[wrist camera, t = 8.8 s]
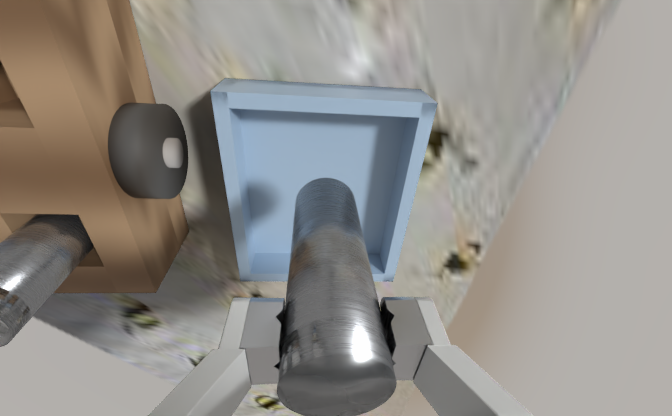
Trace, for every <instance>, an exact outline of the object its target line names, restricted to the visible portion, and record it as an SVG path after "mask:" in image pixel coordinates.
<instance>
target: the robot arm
mask: <svg viewBox="0 0 672 416" xmlns="http://www.w3.org/2000/svg"><path fill="white" fill-rule="evenodd" d="M380 307H381V315H382V320H383V324H384V328H385V333H386V337H387V342H388V346H389V350H390V355H391V359H392V363H393V368H394V372H395V376H396V380H414V381H413V382H414V384H415V385H416V386H417V388H418V389H419V390H420V392H421V393H422V394H423V395H424V397H425V398H426V399H427V401H428V402H429V403H430V405H431V406H432V407H433V408H434V410H435V411H436V412H437V414H438V415H439V416H533V415H532V413H530V412H529V411H528V410H527V409H526V408H525V407H524V406H523V405H522V404H520V403H519V402H518V401H517V400H516V399H515V398H514V397H513V396H512V395H511V394H509V393H508V392H507V391H506V390H505V389H504V388H503V387H502V386H501V385H500V384H498V383H497V382H496V381H495V380H494V379H493V378H492V377H491V376H490V375H488V374H487V373H486V372H485V371H484V370H483V369H482V368H481V367H480V366H478V365H477V364H476V363H475V362H474V361H473V360H472V359H471V358H470V357H469V356H467V355H466V354H465V353H464V352H463V351H462V350H461V349H460V348H459V347H457V346H456V345H451V344H450V341H449V339H448V336H447V334H446V332H445V329H444V327H443V324H442V322H441V319H440V317H439V314H438V312H437V309H436V307H435V305H434V302H433V300H432V299H431V298H430V297H383V298H382V299H381V303H380ZM284 312H285V299H284V298H234V299H233V300H232V302H231V305H230V308H229V312H228V316H227V319H226V323H225V326H224V330H223V333H222V337H221V341H220V344H219V348H218V349H213V350H212V351H211V352H210V353H209V354H208V355H207V356H206V357H205V358H204V359H203V360H202V361H201V362H200V363H199V364H198V365H197V366H196V367H195V368H194V369H193V370H192V371H191V372H190V373H189V374H188V375H187V376H186V377H185V378H184V379H183V380H182V381H181V382H180V383H179V384H178V385H177V386H176V387H175V388H174V389H173V391H172V392H171V393H170V394H169V395H168V396H167V397H166V398H165V399H164V400H163V401H162V402H161V403H160V404H159V405H158V406H157V407H156V408H155V409H154V410H153V411H152V412H151V413H150V414H149V415H148V416H232V414H233V413H234V412H235V410H236V409H237V407H238V406H239V404H240V403H241V401H242V400H243V398H244V397H245V395H246V394H247V392H248V391H249V390H250V388H251V385H257V384H275V383H278V374H279V364H280V354H281V344H282V334H283V324H284Z"/></svg>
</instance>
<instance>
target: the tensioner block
mask: <svg viewBox="0 0 672 416" xmlns="http://www.w3.org/2000/svg"><path fill="white" fill-rule="evenodd" d="M187 169H188V146H187V140H186V135H185V131H184V128H183V125H182V122H181V120H180V118H179V116H178V114H177V113H176V112H175V110H174V109H173V108H172V107H170V106H169V105H166V104H156V102H155V98H154V94H153V90H152V86H151V83H150V79H149V75H148V71H147V67H146V63H145V60H144V56H143V52H142V48H141V44H140V40H139V37H138V33H137V29H136V25H135V21H134V17H133V14H132V10H131V6H130V2H129V0H0V243H1V242H2V241H3V240H4V239H6V238H7V237H8V236H10V235H11V234H12V233H13V232H15V231H16V230H17V229H19V228H20V227H21V226H23V225H24V224H25V223H26V222H28V221H29V220H30V219H32V218H33V217H34V216H35V215H37V214H70V215H79V217H80V219H81V221H82V223H83V225H84V227H85V229H86V231H87V233H88V235H89V237H90V239H91V241H92V243H93V245H94V248H93V249H92V250H91V251H90V252H89V253H88V254H87V256H86V257H85V258H84V259H83V260H82V261H81V262H80V263H79V265H78V266H77V267H76V268H75V269H74V270H73V271H72V272H71V274H70V275H69V276H68V277H67V278H66V279H65V280H64V281H63V282H62V284H61V285H60V286H59V287H58V288H57V289H56V290H55V291H54V293H156V292H157V290H158V288H159V286H160V284H161V282H162V281H163V279H164V277H165V275H166V273H167V271H168V269H169V268H170V266H171V264H172V262H173V260H174V258H175V256H176V255H177V253H178V251H179V249H180V247H181V245H182V244H183V242H184V240H185V238H186V236H187V234H188V232H189V228H188V224H187V220H186V217H185V213H184V209H183V205H182V201H181V197H180V194H179V193H180V191H181V190H182V188H183V186H184V183H185V179H186V175H187Z"/></svg>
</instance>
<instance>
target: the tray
mask: <svg viewBox="0 0 672 416" xmlns="http://www.w3.org/2000/svg"><path fill="white" fill-rule="evenodd" d="M210 93H211V99H212V105H213V112H214V118H215V124H216V131H217V137H218V143H219V149H220V156H221V162H222V168H223V175H224V181H225V187H226V193H227V200H228V206H229V212H230V219H231V225H232V231H233V237H234V244H235V250H236V256H237V263H238V269H239V275H240V281H288V273H289V263H290V253H291V243H292V233H293V222H294V212H295V202H296V197H297V194H298V193H299V191H300V189H301V188H302V187H303V186H304V185H305V184H307V183H308V182H310V181H312V180H315V179H318V178H333V179H337V180H339V181H341V182H343V183H345V184H346V185H347V186H348V187H349V188H350V189H351V191H352V192H353V195H354V198H355V202H356V206H357V211H358V215H359V219H360V224H361V228H362V232H363V237H364V241H365V245H366V250H367V254H368V259H369V263H370V267H371V272H372V276H373V280H374V281H393V280H394V276H395V272H396V268H397V264H398V260H399V256H400V252H401V248H402V244H403V240H404V236H405V232H406V228H407V224H408V220H409V216H410V212H411V208H412V204H413V200H414V196H415V192H416V188H417V184H418V180H419V176H420V172H421V168H422V164H423V160H424V156H425V152H426V148H427V144H428V140H429V136H430V132H431V128H432V124H433V120H434V116H435V112H436V108H437V104H438V103H437V102H435V101H434V100H433V99H432V98H431V97H430V96H428V95H427V94H426V93H425V92H424V91H422V90H421V89H405V88H387V87H370V86H352V85H335V84H317V83H300V82H282V81H265V80H247V79H230V78H225V79H223V80H222V81H221V82H220V83H219V84H218V85H217V86H216V87H214V88H213V89H212V90H211V91H210Z"/></svg>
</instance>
